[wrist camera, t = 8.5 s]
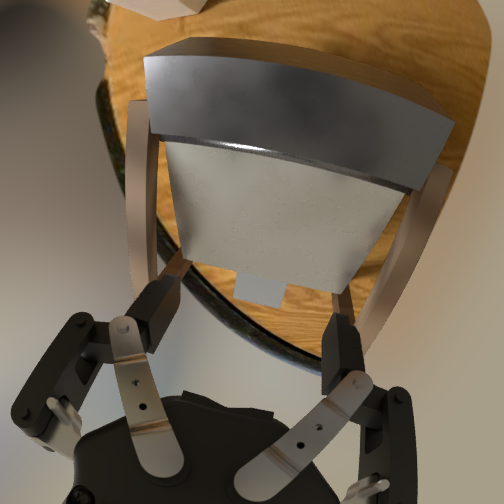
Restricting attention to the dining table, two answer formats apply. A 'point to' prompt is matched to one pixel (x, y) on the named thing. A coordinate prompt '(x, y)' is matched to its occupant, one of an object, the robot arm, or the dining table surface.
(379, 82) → the trapdoor
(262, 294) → the gray cube
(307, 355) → the dining table surface
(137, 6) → the jar
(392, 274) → the frame
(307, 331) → the dining table surface
